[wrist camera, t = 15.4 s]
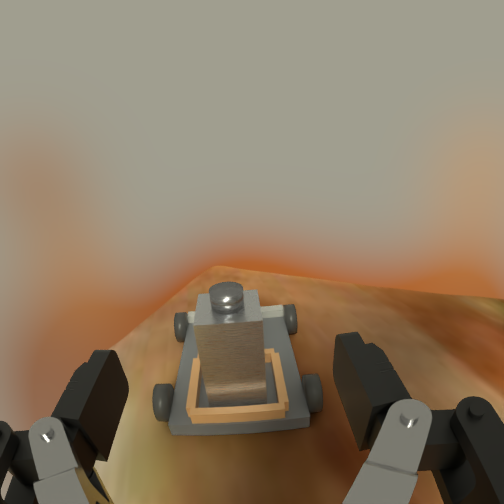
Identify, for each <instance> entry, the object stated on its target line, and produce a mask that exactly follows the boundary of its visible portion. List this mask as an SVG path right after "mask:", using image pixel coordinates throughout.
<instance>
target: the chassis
mask: <svg viewBox="0 0 504 504" xmlns="http://www.w3.org/2000/svg"><path fill="white" fill-rule="evenodd" d="M260 308H261V313H262V319H263V333H264V352H265V371H266V390H267V404H262V405H249V406H234V407H213V408H210V406H209V402H208V397H207V393H206V388H205V383H204V379H203V374H202V369H201V364H200V359H199V354H198V349H197V344H196V338H195V333H194V328H193V324H194V318H195V312H196V311H194V312H188V314H187V313H186V312H182V313H176V314H175V317H174V330H175V336H176V339H177V341H178V342H182V341H185V342H184V347H183V352H182V356H181V361H180V366H179V371H178V376H177V381H176V386H175V391H174V389H173V386H172V385H171V384H156V385H155V387H154V390H153V410H154V414H155V417H156V419H157V420H158V421H165V422H169V423H168V426H169V428H170V431H171V434H172V435H230V434H247V433H260V432H271V431H281V430H289V429H297V428H305V427H309V425H310V413H313V412H320V411H322V408H323V392H322V386H321V381H320V378H319V375H318V374H317V373H315V374H308V375H303V376H302V383H301V379H300V376H299V372H298V368H297V364H296V361H295V357H294V353H293V350H292V346H291V342H290V338H289V335H288V334H294V333H297V315H296V309H295V306H294V304H291V305H283V307H282V305H276V306H264V307H260Z"/></svg>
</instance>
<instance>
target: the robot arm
mask: <svg viewBox="0 0 504 504" xmlns="http://www.w3.org/2000/svg"><path fill="white" fill-rule="evenodd" d="M333 376H334V381H335V384H336V387H337V390H338V393H339V395H340V398H341V401H342V403H343V406H344V409H345V412H346V414H347V417H348V420H349V423H350V426H351V428H352V431H353V434H354V437H355V440H356V443H357V445H358V448H359V451H362V450H366V449H370V451H371V452H370V454H369V456H368V458H367V460H366V461H365V462H364V464H363V466H362V468H361V470H360V472H359V474H358V476H357V477H356V479H355V481H354V483H353V485H352V487H351V489H350V490H349V492H348V494H347V496H346V498H345V499H344V501H343V503H342V504H408V503H409V501H410V498H411V495H412V493H413V490H414V487H415V485H416V482H417V478H418V474H416V473H417V471H426V470H431V471H432V473H433V476H434V478H435V481H436V484H437V486H438V489H439V491H440V494H441V497H442V500H443V502H444V504H504V424H503V422H502V421H501V419H500V418H499V416H498V414H497V413H496V411H495V410H494V408H493V407H492V405H491V404H490V403H489V402H488V401H486V400H485V399H483V398H480V397H475V396H472V397H467V398H464V399H463V400H461V401H460V402H459V404H458V405H457V407H456V409H452V410H430V409H429V408H428V406H427V405H425V404H424V403H422V402H420V401H418V400H414V399H412V398H411V397H410V395H409V393H408V391H407V390H406V388H405V386H404V385H403V383H402V381H401V380H400V378H399V376H398V374H397V373H396V371H395V370H394V369H393V366H392V365H391V363H390V362H389V360H388V358H387V356H386V355H385V353H384V351H383V350H382V349H380V348H379V347H377V346H376V345H375V344H373V343H369V344H365V343H364V342H363V340H362V338H361V336H360V335H359V333H358V332H351V333H344V334H338V335H336V339H335V350H334V361H333ZM128 393H129V386H128V381H127V378H126V376H125V373H124V371H123V368H122V366H121V363H120V361H119V358H118V355H117V353H116V352H115V351H114V350H95V351H94V352H93V354H92V355H91V357H90V359H89V361H88V363H86V362H85V363H83V364H82V365H81V366H80V367H79V368H78V369H77V370H76V371H75V372H74V374H73V376H72V377H71V379H70V382H69V383H68V385H67V387H66V390H64V392H63V394H62V396H61V398H60V400H59V402H58V404H57V405H56V407H55V410H54V411H53V413H52V415H51V417H45V418H42V419H39V420H38V421H36V422H35V423H34V424H33V425H32V426H31V428H30V430H26V431H15V432H14V431H13V430H12V429H11V427H10V426H9V425H8V424H7V423H6V422H4V421H0V504H114V503H113V501H112V499H111V497H110V496H109V494H108V492H107V490H106V488H105V486H104V484H103V482H102V480H101V478H100V476H99V474H98V472H97V470H96V469H95V467H94V464H95V460H99V461H106V462H107V460H108V457H109V454H110V450H111V447H112V444H113V440H114V437H115V434H116V431H117V428H118V425H119V421H120V418H121V415H122V412H123V409H124V406H125V403H126V400H127V397H128ZM7 471H9V472H10V473H11V474H12V475H13V477H12V480H11V483H10V485H9V488H8V491H7V494H6V497H5V500H3V499H2V497H1V487H2V484H3V481H4V478H5V476H6V473H7Z"/></svg>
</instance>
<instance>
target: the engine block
mask: <svg viewBox="0 0 504 504" xmlns="http://www.w3.org/2000/svg"><path fill="white" fill-rule="evenodd" d="M193 328H194V333H195V338H196V344H197V349H198V354H199V359H200V364H201V369H202V374H203V379H204V383H205V388H206V393H207V397H208V402H209V406H210V408H213V407H234V406H249V405H262V404H267V390H266V371H265V352H264V333H263V319H262V313H261V308H260V303H259V297H258V292H257V290H246V291H243V287H242V285H241V284H239V283H235V282H222V283H218V284H215V285H213V286H212V287H211V288H210V289H209V293H208V294H199V295H198V300H197V306H196V312H195V318H194V324H193Z"/></svg>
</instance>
